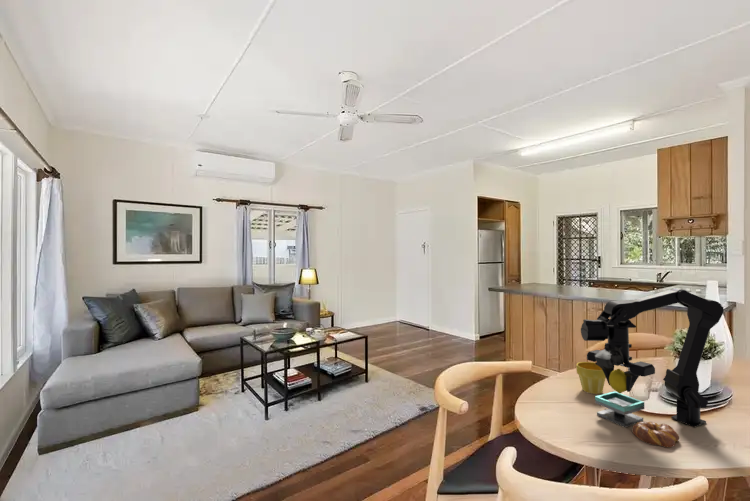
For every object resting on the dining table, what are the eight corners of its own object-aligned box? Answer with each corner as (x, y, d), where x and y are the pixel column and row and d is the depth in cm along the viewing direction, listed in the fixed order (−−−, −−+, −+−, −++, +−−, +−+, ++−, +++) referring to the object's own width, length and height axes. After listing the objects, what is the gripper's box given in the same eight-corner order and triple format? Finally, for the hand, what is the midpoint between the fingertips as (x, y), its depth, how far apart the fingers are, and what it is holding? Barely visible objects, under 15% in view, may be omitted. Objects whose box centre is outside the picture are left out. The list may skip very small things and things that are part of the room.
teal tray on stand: (614, 409, 125) (614, 391, 125) (644, 421, 116) (644, 402, 116) (595, 414, 121) (595, 396, 121) (624, 428, 112) (624, 408, 112)
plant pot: (578, 383, 147) (578, 359, 147) (608, 389, 141) (608, 364, 141) (575, 392, 139) (574, 367, 139) (607, 398, 133) (606, 372, 133)
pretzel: (649, 425, 114) (649, 414, 114) (689, 443, 104) (689, 430, 103) (622, 433, 110) (622, 421, 110) (662, 452, 99) (662, 439, 99)
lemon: (633, 397, 115) (632, 372, 115) (613, 396, 116) (613, 371, 116) (624, 390, 120) (624, 366, 120) (606, 389, 121) (605, 365, 121)
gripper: (574, 337, 123) (576, 383, 124) (631, 351, 106) (633, 404, 106) (597, 333, 128) (598, 377, 128) (655, 346, 110) (656, 397, 111)
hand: (619, 388), depth 118 cm, fingers closed on lemon, 5 cm apart
